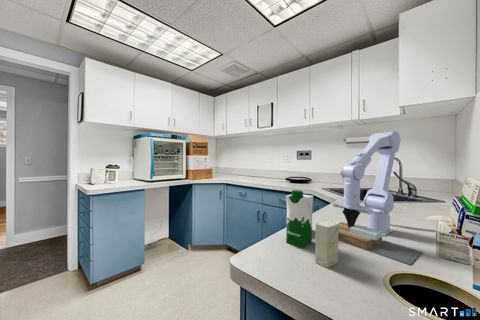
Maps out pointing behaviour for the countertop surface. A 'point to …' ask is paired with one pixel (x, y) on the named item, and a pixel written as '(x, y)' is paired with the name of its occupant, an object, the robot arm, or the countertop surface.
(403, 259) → the mat
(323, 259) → the skincare box
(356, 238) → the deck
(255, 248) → the countertop surface
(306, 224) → the milk carton
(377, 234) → the mint green flat block
